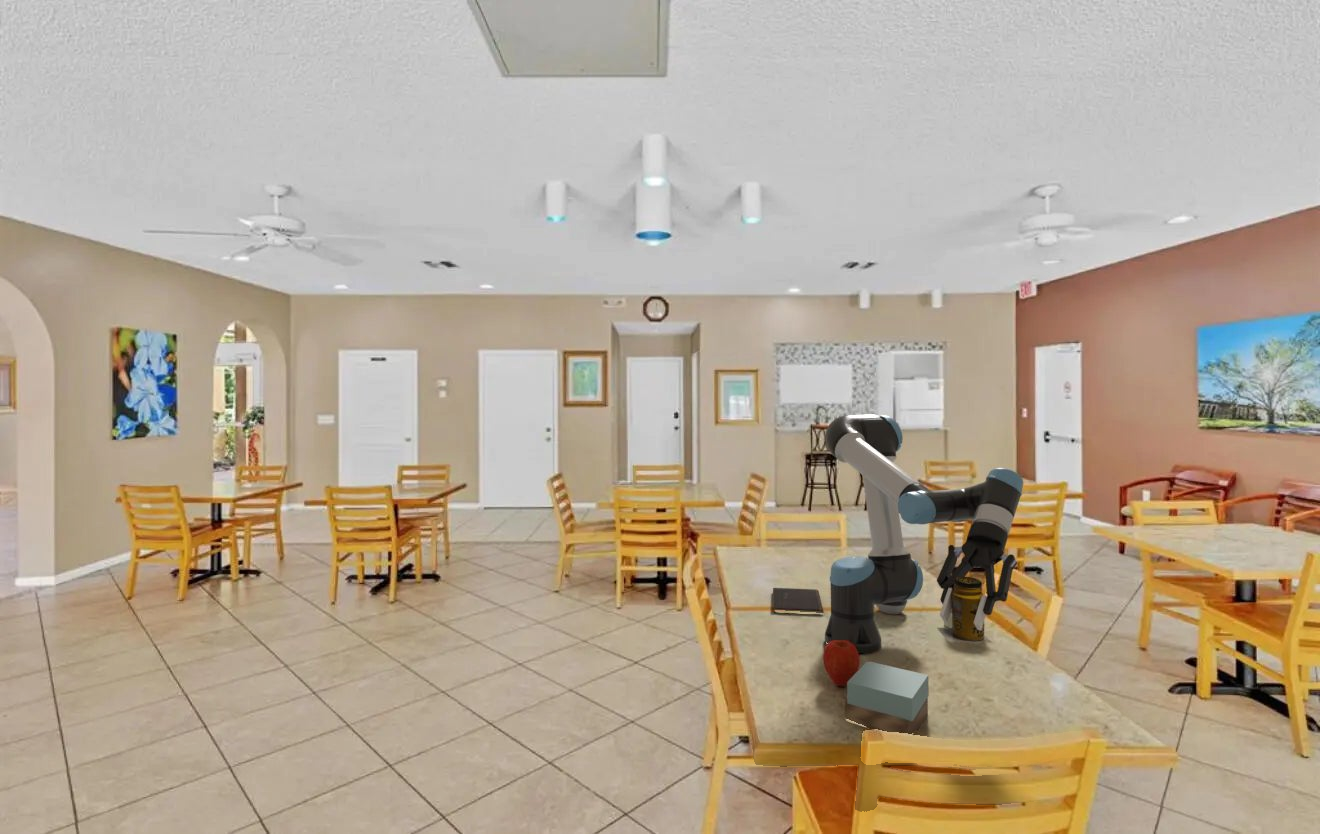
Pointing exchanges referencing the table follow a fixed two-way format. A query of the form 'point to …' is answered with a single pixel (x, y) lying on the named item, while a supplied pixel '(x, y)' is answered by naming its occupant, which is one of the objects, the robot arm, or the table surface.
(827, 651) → the apple
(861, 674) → the tower top
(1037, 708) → the table surface
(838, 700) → the table surface
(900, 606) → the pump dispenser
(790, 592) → the hardcover book
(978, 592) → the condiment
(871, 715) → the tower base
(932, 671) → the table surface
